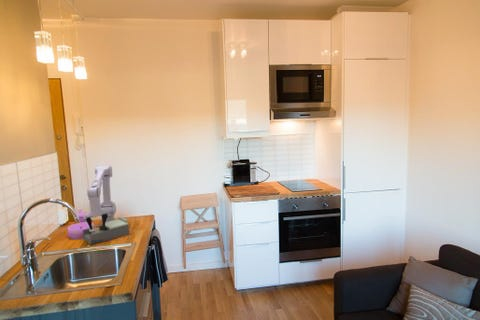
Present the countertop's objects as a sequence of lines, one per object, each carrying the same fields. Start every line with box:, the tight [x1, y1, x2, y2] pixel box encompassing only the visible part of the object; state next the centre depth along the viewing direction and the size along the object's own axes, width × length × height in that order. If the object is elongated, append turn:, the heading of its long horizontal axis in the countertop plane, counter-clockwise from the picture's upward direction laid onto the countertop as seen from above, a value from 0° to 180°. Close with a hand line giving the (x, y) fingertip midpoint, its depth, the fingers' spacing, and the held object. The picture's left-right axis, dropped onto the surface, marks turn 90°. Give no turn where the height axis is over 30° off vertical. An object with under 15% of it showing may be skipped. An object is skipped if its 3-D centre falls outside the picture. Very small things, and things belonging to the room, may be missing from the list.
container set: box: [67, 209, 95, 240], centre depth 206 cm, size 25×15×13 cm, turn 26°
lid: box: [101, 215, 130, 229], centre depth 201 cm, size 14×12×3 cm
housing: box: [82, 224, 130, 246], centre depth 197 cm, size 14×24×6 cm, turn 133°
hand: (97, 227), depth 191 cm, fingers open, 7 cm apart
